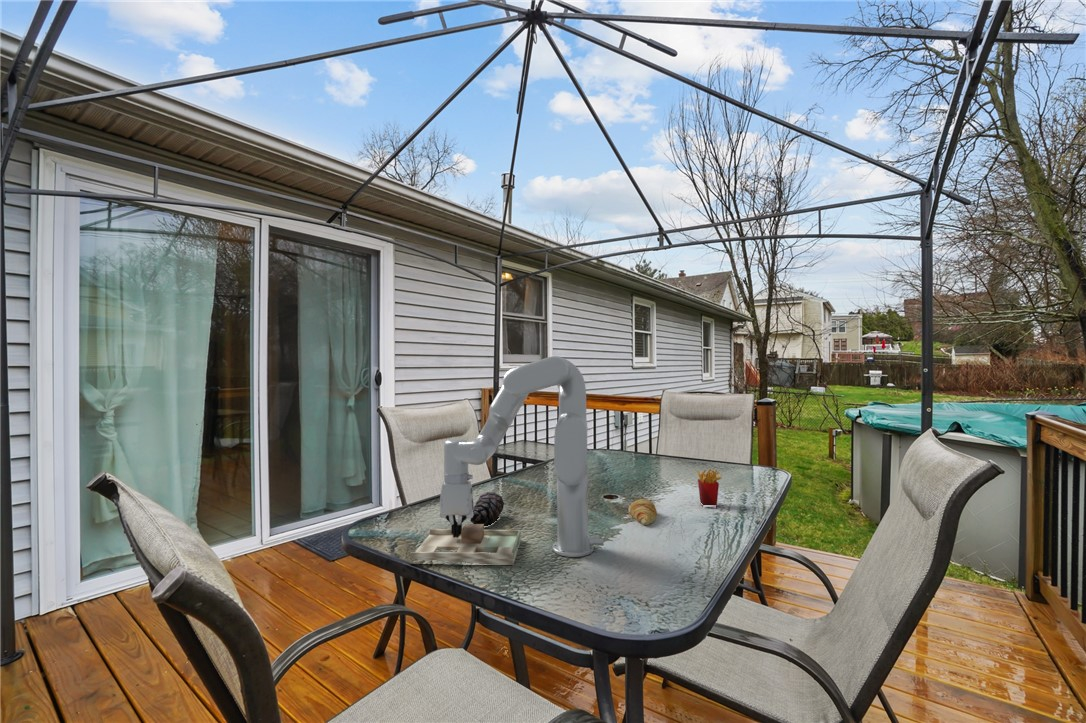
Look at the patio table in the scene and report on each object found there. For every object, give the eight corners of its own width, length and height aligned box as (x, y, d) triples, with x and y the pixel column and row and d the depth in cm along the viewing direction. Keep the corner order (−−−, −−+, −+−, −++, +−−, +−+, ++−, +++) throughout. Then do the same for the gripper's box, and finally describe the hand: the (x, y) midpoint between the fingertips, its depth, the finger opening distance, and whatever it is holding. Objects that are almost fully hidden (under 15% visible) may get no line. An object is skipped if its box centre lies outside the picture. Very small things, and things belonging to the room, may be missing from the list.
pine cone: (467, 530, 167) (466, 501, 167) (480, 514, 184) (479, 488, 184) (496, 531, 165) (496, 502, 165) (506, 514, 183) (506, 488, 183)
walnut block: (483, 536, 155) (483, 524, 155) (480, 543, 149) (480, 530, 149) (465, 536, 156) (465, 524, 156) (461, 543, 150) (461, 530, 150)
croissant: (654, 537, 167) (665, 517, 167) (628, 523, 168) (639, 503, 167) (646, 516, 188) (656, 498, 188) (623, 504, 189) (632, 486, 188)
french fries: (697, 503, 194) (696, 466, 194) (718, 503, 193) (717, 466, 193) (703, 510, 185) (703, 471, 185) (725, 510, 184) (725, 471, 184)
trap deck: (520, 540, 156) (520, 530, 156) (513, 566, 137) (513, 553, 137) (430, 539, 158) (430, 529, 158) (410, 564, 139) (410, 552, 139)
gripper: (481, 475, 156) (482, 532, 156) (436, 475, 157) (436, 531, 157) (477, 481, 148) (477, 541, 148) (429, 481, 149) (430, 540, 149)
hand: (456, 535), depth 153 cm, fingers closed
